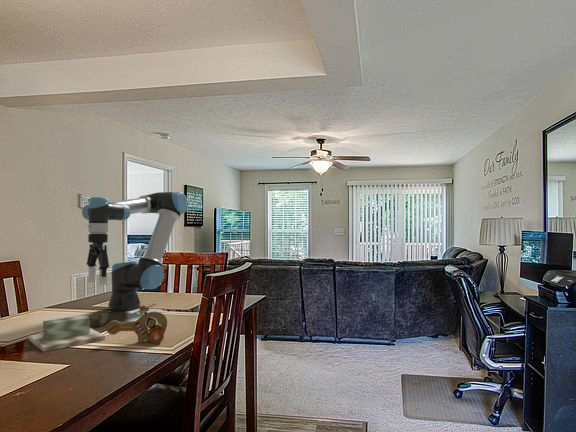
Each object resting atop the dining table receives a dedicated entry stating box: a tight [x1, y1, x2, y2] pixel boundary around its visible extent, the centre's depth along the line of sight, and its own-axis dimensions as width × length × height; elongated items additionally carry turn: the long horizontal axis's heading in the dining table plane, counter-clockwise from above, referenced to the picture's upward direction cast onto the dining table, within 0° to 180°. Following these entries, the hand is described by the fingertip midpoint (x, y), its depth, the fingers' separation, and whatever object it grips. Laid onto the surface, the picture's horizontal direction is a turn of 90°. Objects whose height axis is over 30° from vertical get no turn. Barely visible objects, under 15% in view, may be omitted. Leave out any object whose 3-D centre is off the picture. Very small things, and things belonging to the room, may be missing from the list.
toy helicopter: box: [105, 303, 168, 345], centre depth 149 cm, size 8×21×14 cm, turn 103°
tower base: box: [28, 314, 106, 353], centre depth 152 cm, size 20×20×8 cm
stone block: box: [87, 309, 110, 328], centre depth 175 cm, size 6×12×5 cm, turn 8°
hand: (97, 283), depth 176 cm, fingers open, 13 cm apart
